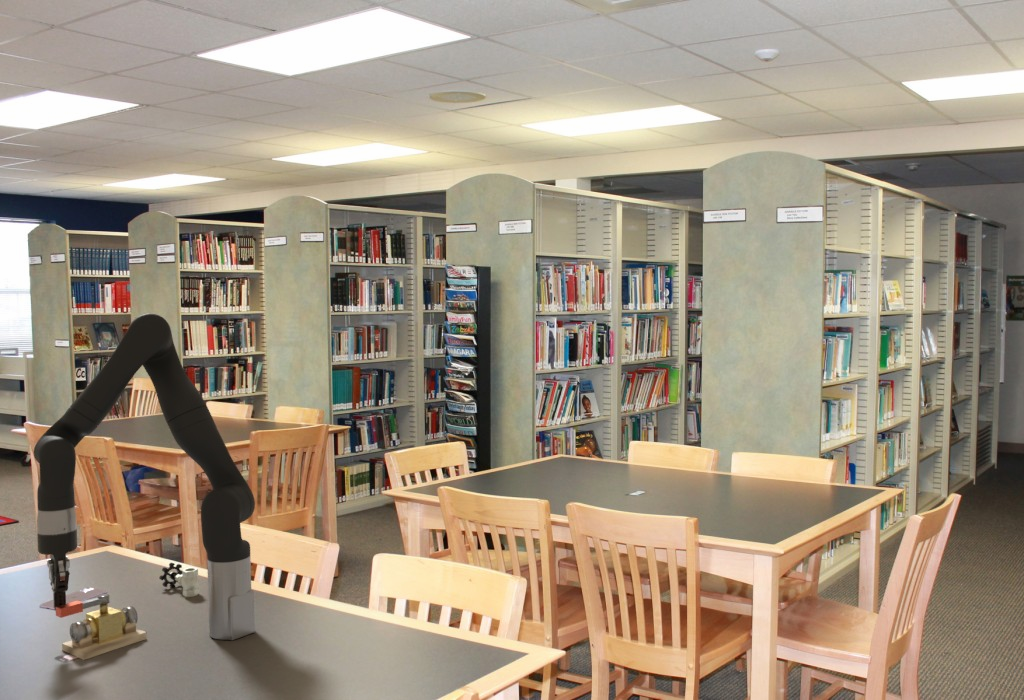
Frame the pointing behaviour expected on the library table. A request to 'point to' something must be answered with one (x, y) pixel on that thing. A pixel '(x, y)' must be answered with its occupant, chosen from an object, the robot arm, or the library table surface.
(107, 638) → the valve body
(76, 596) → the mobile phone
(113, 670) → the library table surface
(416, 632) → the library table surface
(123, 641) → the pipe board
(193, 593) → the valve
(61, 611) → the valve lever
